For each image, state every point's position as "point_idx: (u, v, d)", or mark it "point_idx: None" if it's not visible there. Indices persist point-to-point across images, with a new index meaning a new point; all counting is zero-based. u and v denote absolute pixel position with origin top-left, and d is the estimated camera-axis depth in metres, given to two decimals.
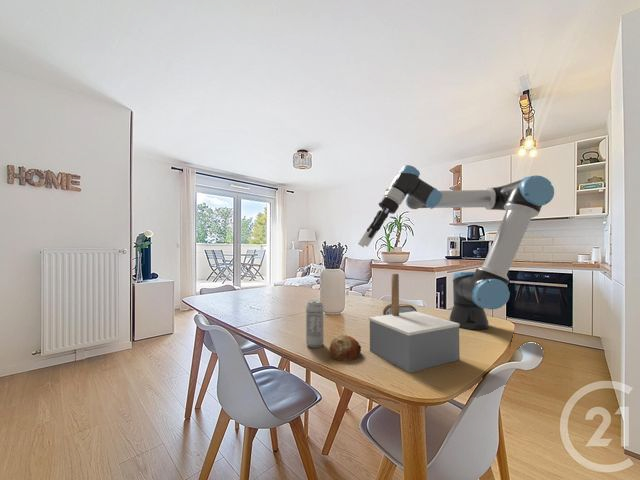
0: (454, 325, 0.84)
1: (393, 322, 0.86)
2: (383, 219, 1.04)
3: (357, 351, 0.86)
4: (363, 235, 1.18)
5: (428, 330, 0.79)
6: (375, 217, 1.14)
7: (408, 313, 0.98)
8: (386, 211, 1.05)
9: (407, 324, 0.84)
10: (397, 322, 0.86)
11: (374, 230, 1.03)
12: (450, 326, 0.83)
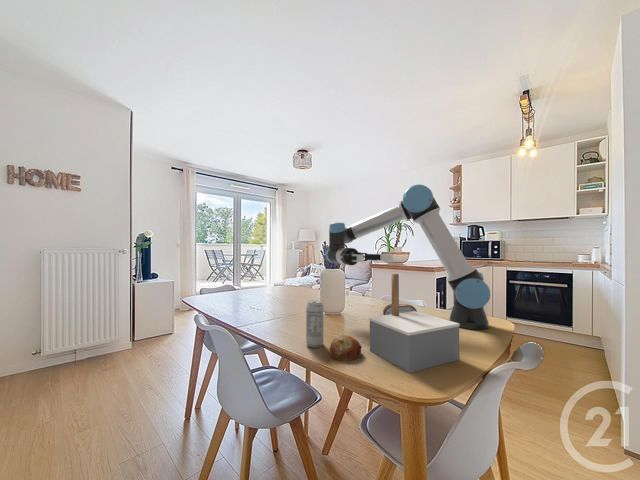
0: (454, 325, 0.84)
1: (393, 322, 0.86)
2: (342, 255, 1.12)
3: (357, 351, 0.86)
4: None
5: (428, 330, 0.79)
6: (363, 260, 1.17)
7: (408, 313, 0.98)
8: (341, 256, 1.15)
9: (407, 324, 0.84)
10: (397, 322, 0.86)
11: (349, 257, 1.07)
12: (450, 326, 0.83)
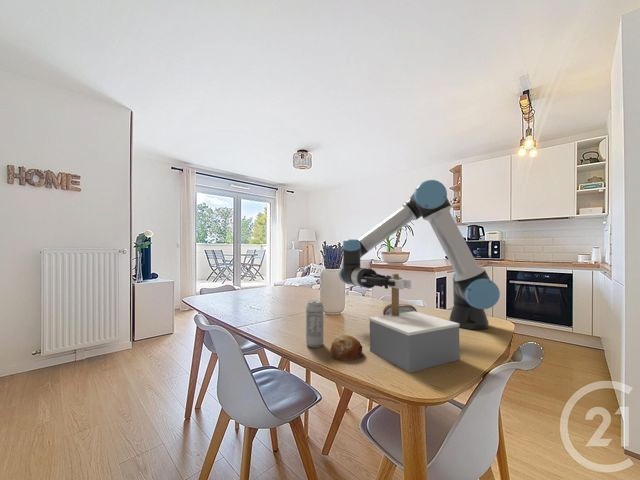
0: (454, 325, 0.84)
1: (393, 322, 0.86)
2: (371, 279, 0.99)
3: (359, 351, 0.86)
4: None
5: (428, 330, 0.79)
6: None
7: (408, 313, 0.98)
8: (364, 280, 1.02)
9: (407, 324, 0.84)
10: (397, 322, 0.86)
11: (386, 282, 0.95)
12: (450, 326, 0.83)
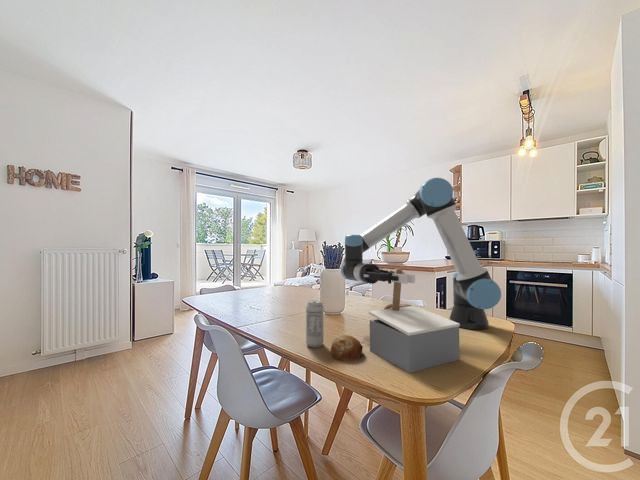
0: (455, 325, 0.84)
1: (393, 319, 0.86)
2: (374, 274, 0.98)
3: (359, 351, 0.86)
4: None
5: (428, 330, 0.79)
6: None
7: (408, 308, 0.98)
8: (366, 275, 1.01)
9: (407, 322, 0.84)
10: (397, 319, 0.86)
11: (389, 277, 0.94)
12: (450, 326, 0.83)
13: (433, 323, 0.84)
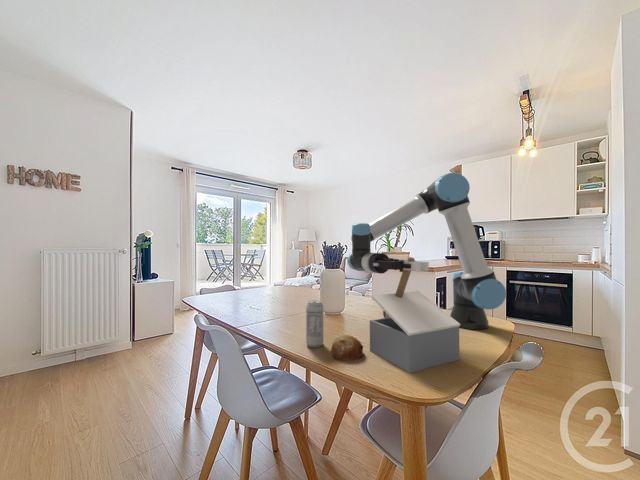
0: (455, 325, 0.84)
1: (396, 310, 0.85)
2: (384, 263, 0.93)
3: (359, 351, 0.86)
4: None
5: (429, 330, 0.79)
6: None
7: (412, 294, 0.96)
8: (376, 264, 0.96)
9: (409, 316, 0.83)
10: (400, 311, 0.85)
11: (401, 265, 0.89)
12: (451, 326, 0.83)
13: (434, 321, 0.84)
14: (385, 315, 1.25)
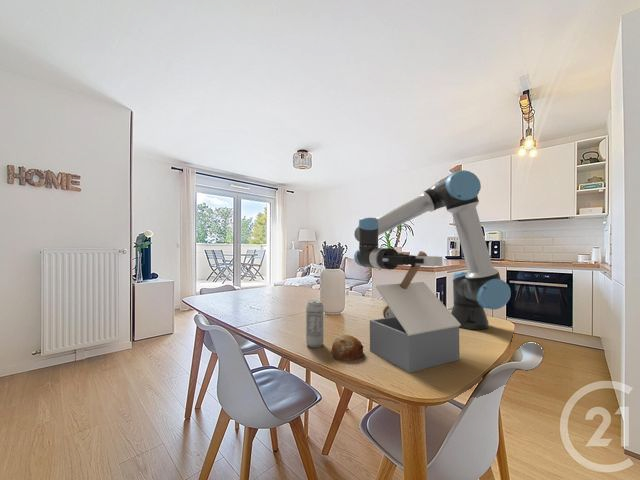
0: (455, 326, 0.84)
1: (399, 304, 0.84)
2: (395, 258, 0.88)
3: (359, 351, 0.86)
4: None
5: (429, 331, 0.79)
6: None
7: (416, 286, 0.95)
8: (386, 259, 0.91)
9: (411, 313, 0.82)
10: (402, 305, 0.84)
11: (413, 260, 0.84)
12: (451, 327, 0.83)
13: (436, 320, 0.83)
14: (385, 315, 1.25)
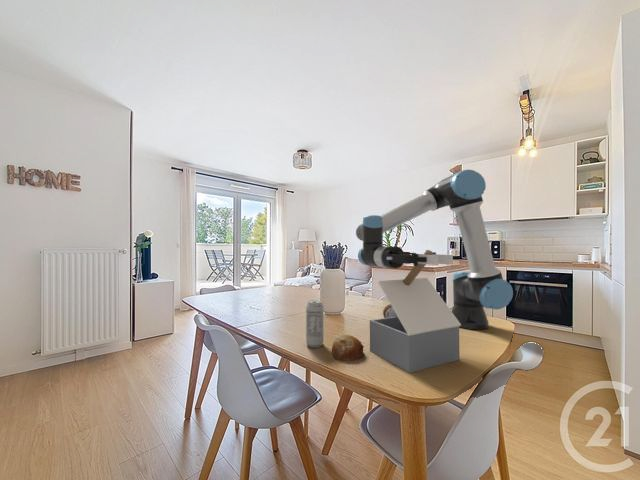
0: (456, 326, 0.84)
1: (401, 302, 0.83)
2: (398, 256, 0.86)
3: (360, 351, 0.86)
4: (438, 263, 0.83)
5: (429, 331, 0.79)
6: None
7: (419, 282, 0.93)
8: (389, 258, 0.89)
9: (413, 312, 0.82)
10: (404, 303, 0.83)
11: (415, 259, 0.82)
12: (451, 327, 0.83)
13: (436, 319, 0.83)
14: (385, 315, 1.25)
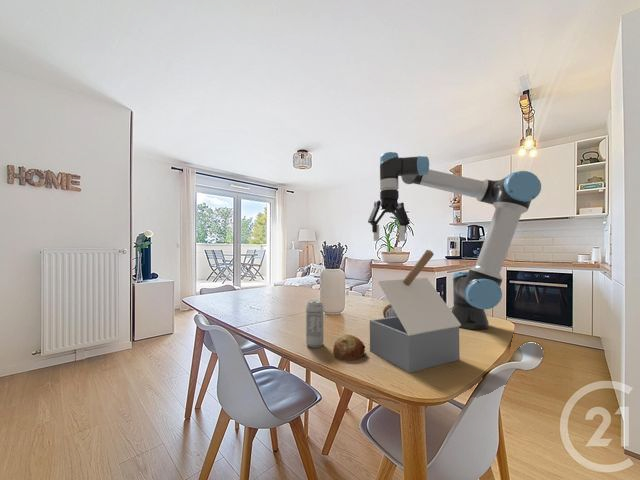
0: (456, 326, 0.84)
1: (401, 302, 0.83)
2: (374, 211, 1.13)
3: (361, 350, 0.86)
4: (399, 231, 1.21)
5: (429, 331, 0.79)
6: None
7: (419, 282, 0.93)
8: (376, 203, 1.14)
9: (413, 312, 0.82)
10: (404, 303, 0.83)
11: (373, 224, 1.13)
12: (451, 327, 0.83)
13: (436, 319, 0.83)
14: (385, 315, 1.25)
